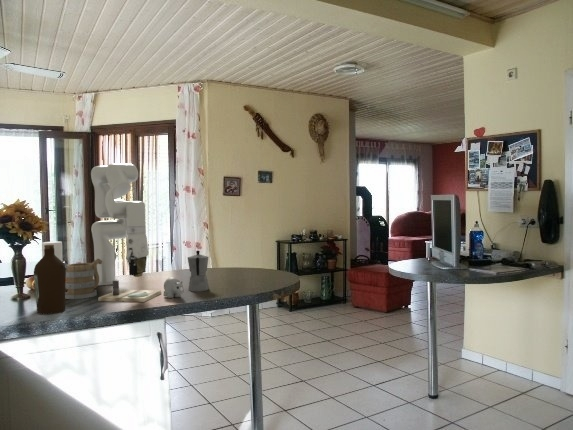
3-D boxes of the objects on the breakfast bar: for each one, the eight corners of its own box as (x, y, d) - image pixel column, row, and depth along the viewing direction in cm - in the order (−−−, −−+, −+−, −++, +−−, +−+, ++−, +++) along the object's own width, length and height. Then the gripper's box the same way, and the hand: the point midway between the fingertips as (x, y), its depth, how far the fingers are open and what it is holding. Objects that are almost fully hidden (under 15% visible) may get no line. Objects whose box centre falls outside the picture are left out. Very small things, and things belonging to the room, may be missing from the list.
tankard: (80, 300, 186) (79, 264, 185) (57, 298, 190) (56, 263, 190) (114, 291, 204) (113, 258, 204) (92, 289, 209) (91, 257, 208)
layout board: (98, 301, 183) (97, 282, 183) (119, 293, 199) (118, 276, 199) (143, 301, 180) (143, 283, 180) (161, 293, 196) (160, 276, 196)
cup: (133, 275, 190) (132, 256, 189) (150, 274, 189) (149, 256, 189) (125, 277, 182) (124, 258, 182) (142, 277, 181) (142, 258, 181)
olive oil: (67, 306, 174) (65, 243, 173) (66, 312, 164) (64, 245, 163) (36, 310, 169) (34, 244, 169) (33, 316, 160) (31, 247, 159)
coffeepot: (188, 287, 209) (188, 249, 209) (209, 286, 211) (208, 248, 210) (187, 294, 194) (186, 253, 194) (209, 293, 196) (208, 252, 195)
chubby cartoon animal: (173, 301, 179) (173, 280, 179) (161, 297, 189) (160, 277, 188) (189, 299, 184) (189, 278, 184) (176, 294, 193) (176, 275, 193)
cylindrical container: (48, 302, 182) (46, 241, 181) (66, 302, 183) (64, 241, 182) (40, 306, 175) (38, 243, 174) (59, 306, 176) (57, 242, 175)
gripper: (134, 232, 176) (135, 277, 176) (154, 229, 193) (155, 270, 193) (116, 232, 177) (118, 277, 178) (138, 229, 194) (139, 270, 195)
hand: (137, 273), depth 185 cm, fingers closed on cup, 6 cm apart
